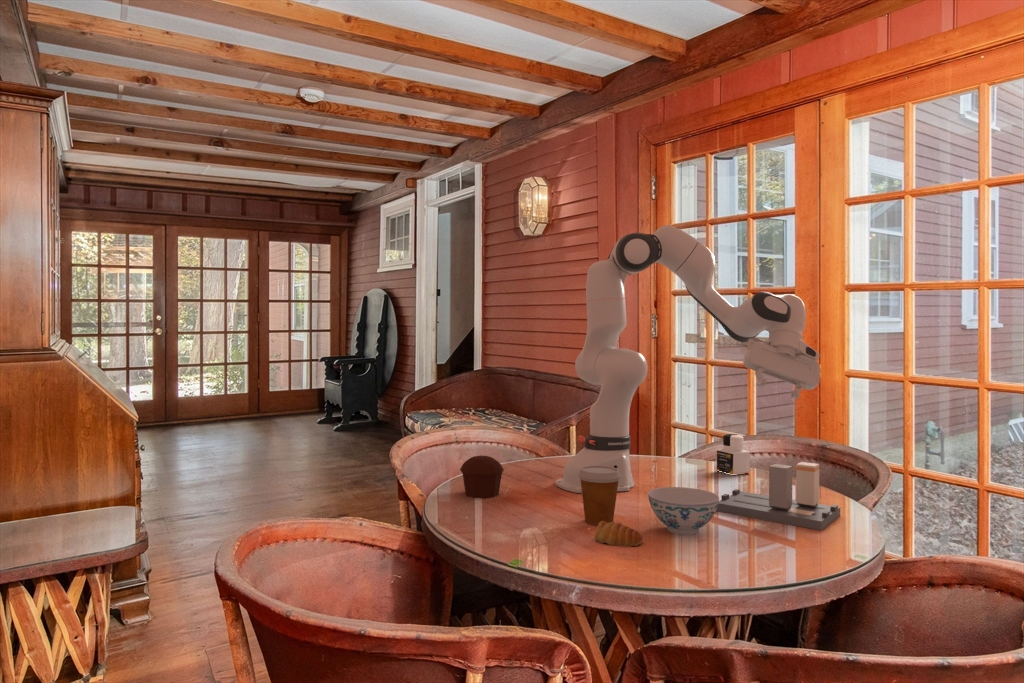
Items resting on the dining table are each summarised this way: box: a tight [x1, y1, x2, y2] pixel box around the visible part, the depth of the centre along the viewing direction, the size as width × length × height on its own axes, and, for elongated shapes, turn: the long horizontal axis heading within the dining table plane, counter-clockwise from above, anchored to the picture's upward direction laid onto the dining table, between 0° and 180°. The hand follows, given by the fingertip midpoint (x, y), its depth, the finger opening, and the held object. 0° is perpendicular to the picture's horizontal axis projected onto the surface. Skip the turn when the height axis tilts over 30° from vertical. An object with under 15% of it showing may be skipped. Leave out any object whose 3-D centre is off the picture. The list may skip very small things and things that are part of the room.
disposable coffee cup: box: [578, 466, 621, 527], centre depth 146 cm, size 10×10×12 cm
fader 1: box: [768, 463, 793, 510], centre depth 150 cm, size 4×4×10 cm
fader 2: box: [795, 461, 820, 508], centre depth 153 cm, size 4×4×10 cm
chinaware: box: [647, 486, 720, 536], centre depth 140 cm, size 15×15×8 cm
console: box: [716, 488, 841, 531], centre depth 155 cm, size 24×16×3 cm, turn 50°
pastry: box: [594, 521, 644, 547], centre depth 132 cm, size 9×7×4 cm
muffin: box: [459, 455, 505, 499], centre depth 171 cm, size 12×11×10 cm
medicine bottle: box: [716, 433, 751, 474], centre depth 201 cm, size 7×7×12 cm
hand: (778, 391), depth 171 cm, fingers open, 8 cm apart
